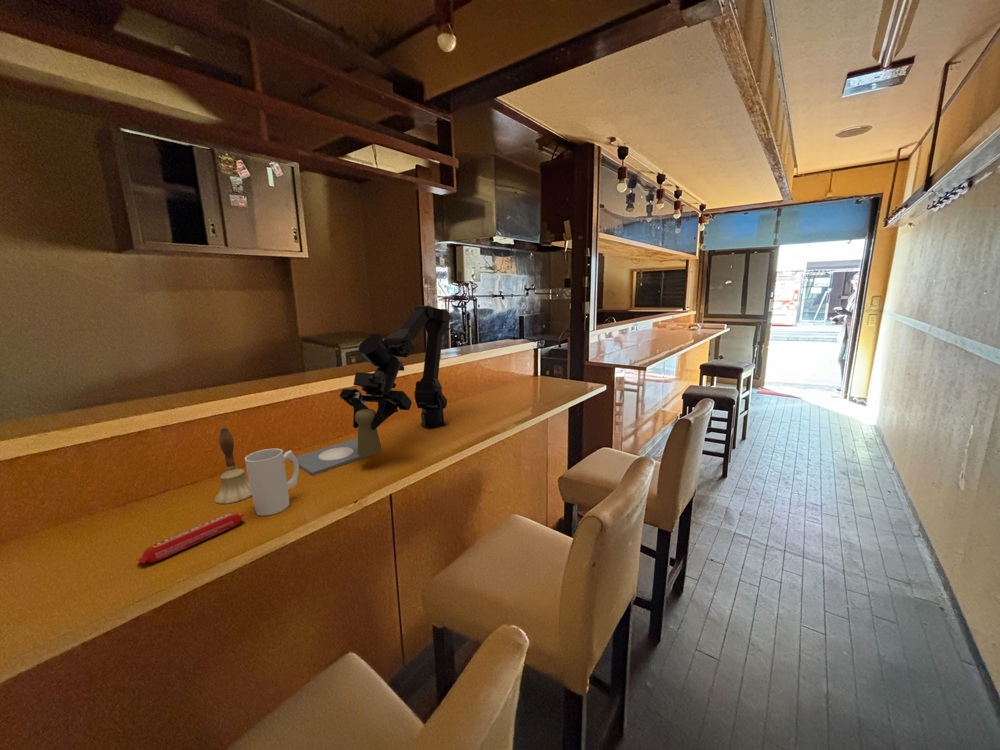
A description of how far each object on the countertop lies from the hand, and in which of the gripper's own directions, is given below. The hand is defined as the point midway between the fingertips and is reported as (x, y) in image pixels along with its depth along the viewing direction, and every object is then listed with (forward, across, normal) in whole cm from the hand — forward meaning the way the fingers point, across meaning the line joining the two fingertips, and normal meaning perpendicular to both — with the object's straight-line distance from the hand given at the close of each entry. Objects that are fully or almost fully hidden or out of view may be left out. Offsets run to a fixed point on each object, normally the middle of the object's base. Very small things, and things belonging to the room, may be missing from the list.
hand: (363, 428), depth 100 cm
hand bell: (+22, -21, -6) cm, 31 cm away
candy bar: (+32, -11, -17) cm, 39 cm away
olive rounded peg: (+4, 0, +6) cm, 7 cm away
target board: (+5, -14, +10) cm, 18 cm away
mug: (+22, -7, -7) cm, 24 cm away
